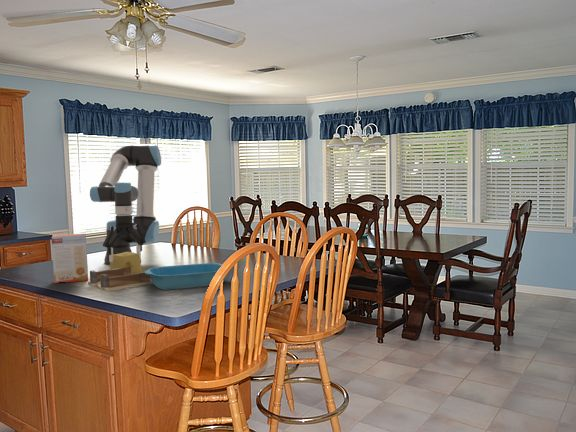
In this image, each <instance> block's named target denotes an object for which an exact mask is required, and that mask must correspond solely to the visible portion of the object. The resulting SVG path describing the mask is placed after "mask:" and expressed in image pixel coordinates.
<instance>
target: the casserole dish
mask: <svg viewBox="0 0 576 432" xmlns="http://www.w3.org/2000/svg"><path fill="white" fill-rule="evenodd" d="M221 265H222V263H218V262H217V263H216V262H211V263H210V262H209V263H190V264H180V265H178V264H177V265H165V266H156V267H151V268H148V269H147V270H145V271H144V272H145V274H147V275H150V278H151V280H152V282H153V283H152V284H153V285H154V286H155V287H156V288H158V289H160V290H162V291H163V290H164V291H167V290H168V291H169V290H170V291H171V290H183V289H193V288H203V287H209V286H208V285H209V284H210V282H211V280H212V278H213V276H214V275H215V273H216V272H217V270H218V269H219V268H220V267H221ZM227 278H228V275H227V276H226V278H225V281H227Z"/></svg>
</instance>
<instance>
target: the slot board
mask: <svg viewBox="0 0 576 432" xmlns="http://www.w3.org/2000/svg"><path fill="white" fill-rule="evenodd" d="M87 284H88V285H90V286H93V287H96V288H98V289H101V290H103V291H105V292H110V291H111V292H112V291H117V290H122V289H123V290H124V289H127V288H128V289H129V288H134V287H139V286H144V285H145V286H146V285H152V284H154V283H153V282H152V280H151V278H150V275H147V274H145V271H144V272H143V271H142V273H135V274H131V266H129V267H125V268H118V269H111V270H110V269H106V270H98V271H96V270H89V280H88V281H87Z"/></svg>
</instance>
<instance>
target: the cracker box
mask: <svg viewBox="0 0 576 432" xmlns="http://www.w3.org/2000/svg"><path fill="white" fill-rule="evenodd" d="M86 235H87V234H86V233H73V234H72V233H71V234H70V233H69V234H57V235H54V234H53V235H51V250H52V251H51V252H52V254H51V255H52V266H53V267H52V268H53V270H52V271H53V281H54V282H53V283H54V284H60V283H59V282H66V283H74V282H77V283H78V282H88V281H89V269H88V267H89V266H88V251H87V250H88V249H87V236H86Z"/></svg>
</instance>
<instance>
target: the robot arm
mask: <svg viewBox="0 0 576 432" xmlns="http://www.w3.org/2000/svg"><path fill="white" fill-rule="evenodd" d="M109 161H110V163H109V165H108V167H107V169H106V171H105V173H104V174H103V176H102V179H101V180H100V182H99V184H98V186H91V188H90V189H89V197H90V201H91V202H94V203H106V202H107V203H109V202H111V203H112V202H113V203H114V210H115V211H114V212H115V213H114V215H115V219H114V220H109V221H108V222H106V229H105V231H106V237H105V239H104V241H103V244H102V247H104V248H106V253H105V256H104V259H103V260H104V261H103V263H104V264H105V265H109V266H110V262H113V255H114V254H119V253H123V252H133V250H132V249H131V243H132V244H136V245H135V246H136V254H137V255H138V256H139V257H140V258H141V257H142V256H141V255H142V253H141V252H143V245H144V244H148V243H154V242H156V240H158V236H159V232H160V223H159V221H158V220H157V218H156V216H155V215H154V199H155V197H154V195H155V172H157V171H158V167H159V166H161V165H162V156H161V150H160V149H159V146H158V145H157V144H151V143H147V144H142V143H139V144H126V145H124V146H122V147H120V148H118V149H117V150H116V151H115V152H114V153H113V154H112V156H111V157H110V160H109ZM128 167H135V169H136V170H137V171H138V172H137V187H136V186H134V185H132V184H131V182H129V181H127V182H126V181H120V179H121V176H122V175H123V172H124V170H126V169H127V168H128ZM119 181H120V182H119ZM135 201H136V214H135V215H134V216H133V215H132V214H133V202H135ZM141 259H142V258H141Z"/></svg>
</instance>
